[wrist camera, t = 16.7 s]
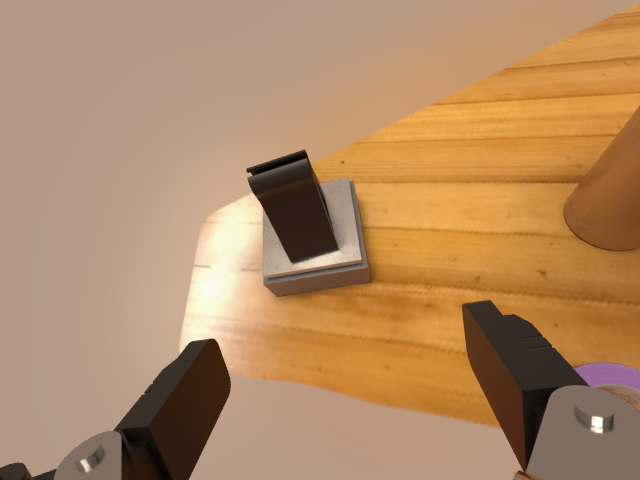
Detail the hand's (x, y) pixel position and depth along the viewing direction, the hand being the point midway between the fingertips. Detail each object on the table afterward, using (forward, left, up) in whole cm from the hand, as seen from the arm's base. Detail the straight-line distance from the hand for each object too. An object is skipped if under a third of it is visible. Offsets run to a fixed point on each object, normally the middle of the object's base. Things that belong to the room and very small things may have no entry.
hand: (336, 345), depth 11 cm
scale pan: (+6, -20, -25) cm, 33 cm away
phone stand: (+6, -19, -24) cm, 32 cm away
